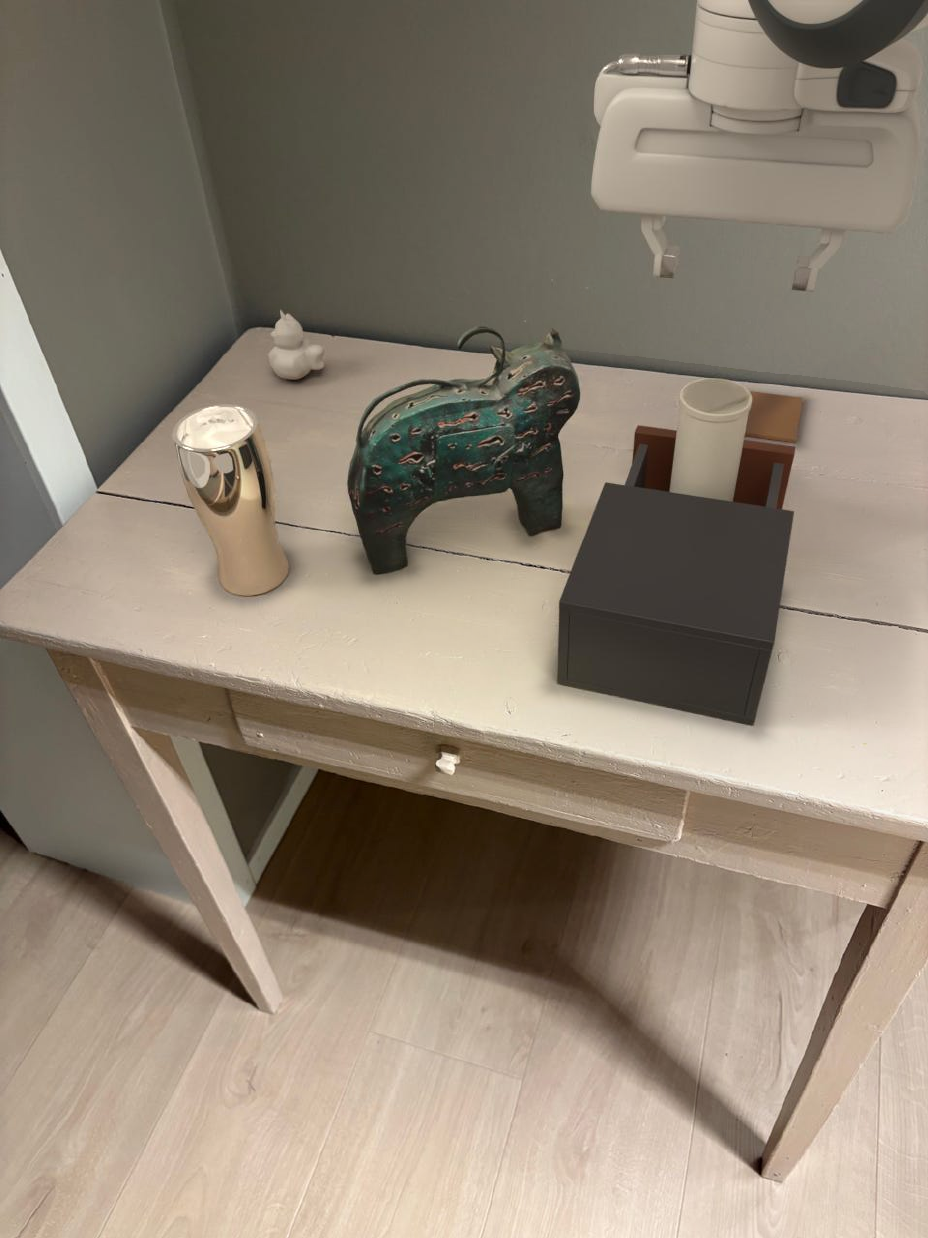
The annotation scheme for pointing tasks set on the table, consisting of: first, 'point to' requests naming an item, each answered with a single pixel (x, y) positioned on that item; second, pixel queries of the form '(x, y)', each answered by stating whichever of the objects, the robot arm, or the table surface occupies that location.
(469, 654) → the table surface
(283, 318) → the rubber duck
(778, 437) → the coaster
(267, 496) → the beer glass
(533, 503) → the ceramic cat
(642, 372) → the table surface
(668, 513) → the cabinet
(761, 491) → the drawer
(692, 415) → the container
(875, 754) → the table surface
